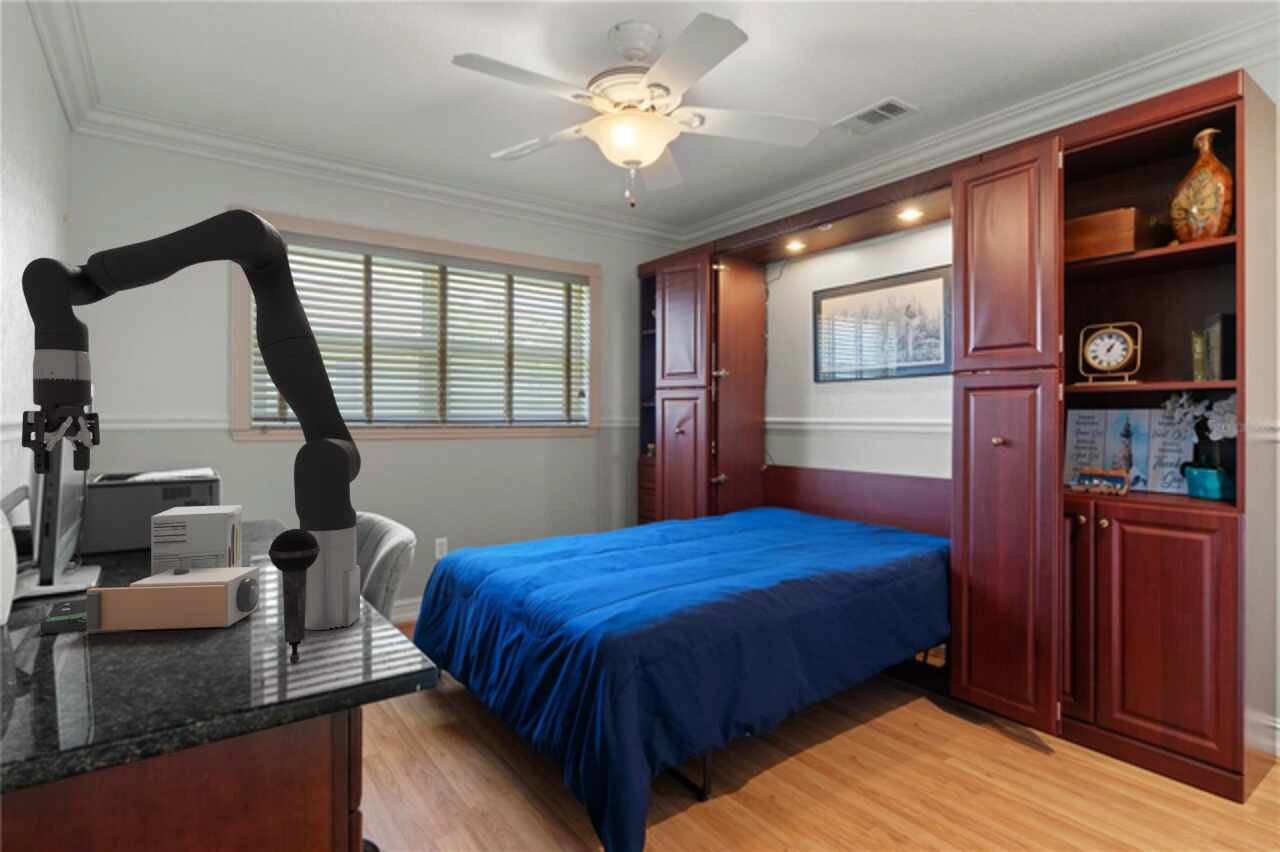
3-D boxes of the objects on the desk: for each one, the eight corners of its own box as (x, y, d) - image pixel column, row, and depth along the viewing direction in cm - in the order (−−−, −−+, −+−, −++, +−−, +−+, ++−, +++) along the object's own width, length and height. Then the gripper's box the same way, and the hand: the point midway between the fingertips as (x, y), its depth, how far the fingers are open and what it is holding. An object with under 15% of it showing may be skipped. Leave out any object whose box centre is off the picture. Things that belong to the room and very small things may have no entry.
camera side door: (227, 624, 115) (226, 584, 115) (221, 627, 113) (221, 587, 113) (91, 629, 112) (91, 588, 112) (82, 632, 110) (82, 591, 110)
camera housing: (269, 607, 127) (269, 562, 127) (238, 626, 116) (238, 576, 116) (171, 610, 125) (171, 564, 125) (129, 630, 113) (129, 579, 113)
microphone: (284, 674, 93) (284, 534, 93) (258, 665, 97) (258, 530, 97) (329, 659, 99) (329, 527, 99) (303, 651, 102) (303, 524, 102)
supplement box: (229, 602, 132) (228, 512, 132) (149, 609, 127) (149, 516, 127) (244, 583, 148) (243, 503, 148) (173, 589, 143) (173, 506, 143)
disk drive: (60, 617, 124) (39, 637, 111) (60, 602, 124) (39, 621, 111) (129, 609, 129) (116, 627, 116) (129, 594, 129) (116, 611, 116)
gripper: (54, 374, 106) (55, 474, 106) (114, 380, 120) (115, 469, 120) (3, 374, 105) (4, 475, 105) (69, 381, 119) (70, 469, 119)
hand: (63, 472), depth 112 cm, fingers open, 8 cm apart
